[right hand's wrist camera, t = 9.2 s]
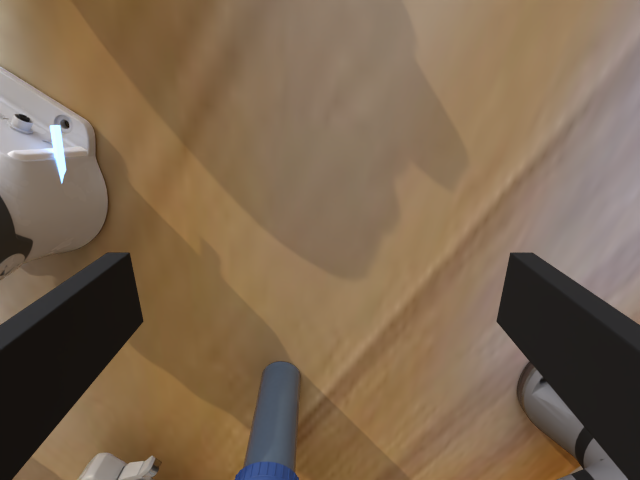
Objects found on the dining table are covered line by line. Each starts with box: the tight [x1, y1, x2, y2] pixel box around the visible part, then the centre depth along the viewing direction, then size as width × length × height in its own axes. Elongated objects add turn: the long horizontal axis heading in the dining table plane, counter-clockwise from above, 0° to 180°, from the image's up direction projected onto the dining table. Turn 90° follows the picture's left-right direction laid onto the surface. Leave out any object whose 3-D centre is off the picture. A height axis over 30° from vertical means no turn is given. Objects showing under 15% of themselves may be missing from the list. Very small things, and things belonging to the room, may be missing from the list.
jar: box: [243, 361, 301, 472], centre depth 39 cm, size 5×5×15 cm
